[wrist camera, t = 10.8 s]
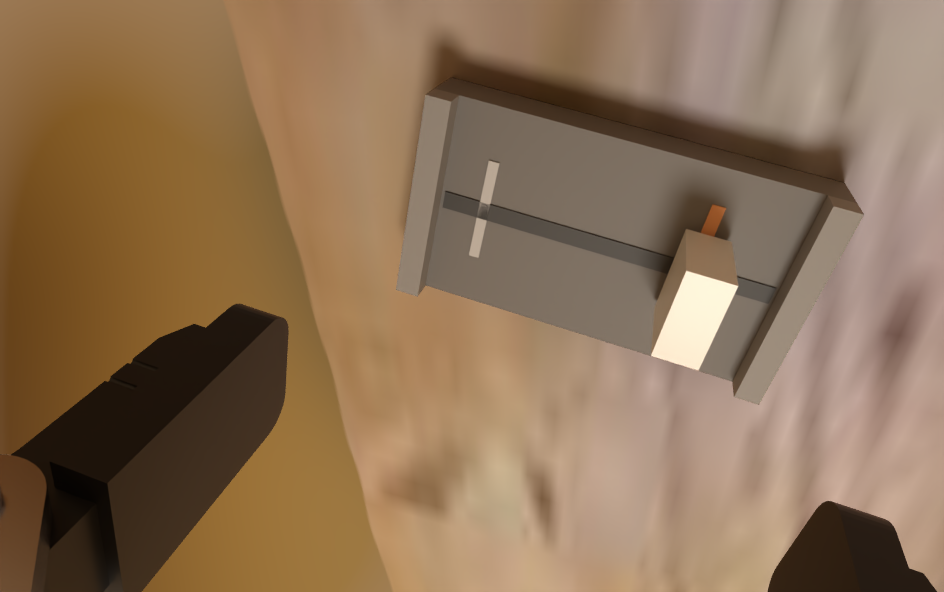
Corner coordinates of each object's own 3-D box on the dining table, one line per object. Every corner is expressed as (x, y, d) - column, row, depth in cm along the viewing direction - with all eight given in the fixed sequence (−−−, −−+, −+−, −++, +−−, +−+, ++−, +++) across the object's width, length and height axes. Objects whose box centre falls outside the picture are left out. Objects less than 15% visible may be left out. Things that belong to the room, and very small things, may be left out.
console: (451, 77, 38) (425, 94, 34) (844, 183, 35) (863, 214, 31) (420, 258, 44) (396, 289, 41) (752, 360, 41) (758, 404, 38)
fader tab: (686, 228, 35) (686, 270, 31) (731, 241, 35) (738, 286, 30) (654, 307, 38) (650, 355, 33) (696, 319, 37) (698, 370, 33)
